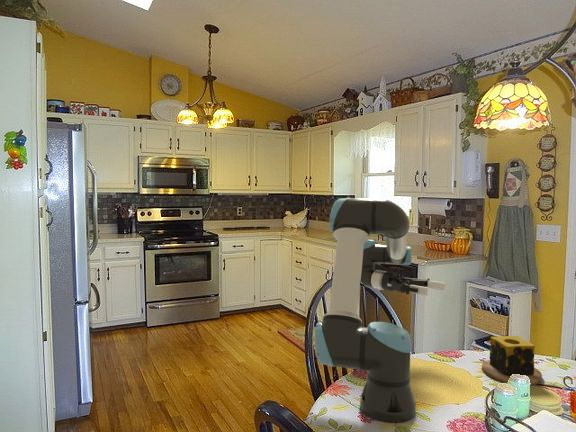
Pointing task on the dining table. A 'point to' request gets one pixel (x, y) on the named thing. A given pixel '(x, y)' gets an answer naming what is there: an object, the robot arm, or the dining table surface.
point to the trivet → (499, 376)
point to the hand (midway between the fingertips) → (436, 289)
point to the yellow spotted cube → (512, 355)
